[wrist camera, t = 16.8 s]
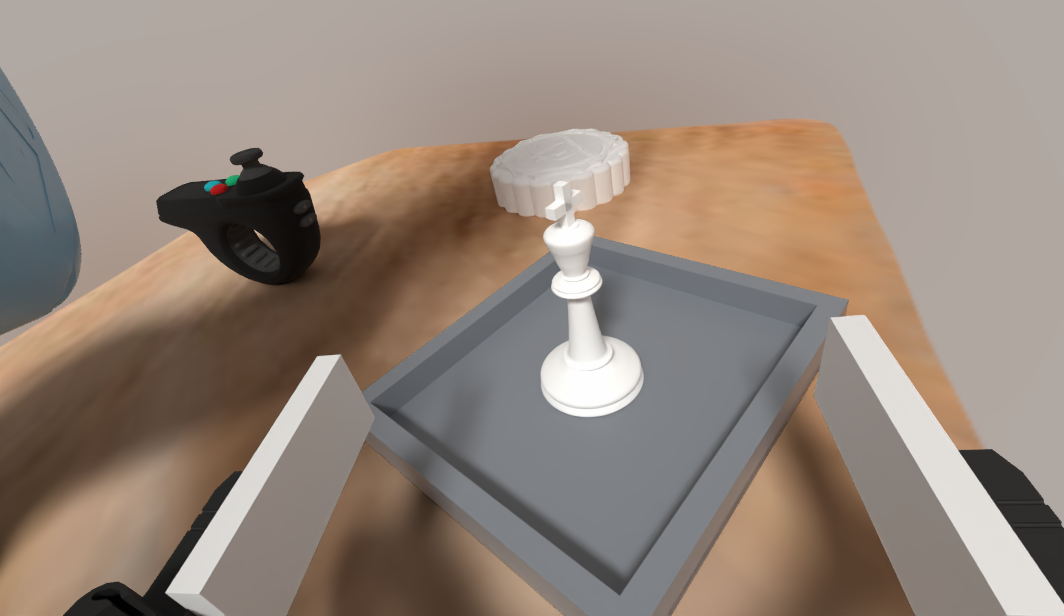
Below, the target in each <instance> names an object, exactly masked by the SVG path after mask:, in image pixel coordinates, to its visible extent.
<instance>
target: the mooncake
mask: <svg viewBox="0 0 1064 616" xmlns="http://www.w3.org/2000/svg"><path fill="white" fill-rule="evenodd" d="M490 173H491V177H492V181H493V186H494V190H495V194H496V197H497V201H498V205H499V206H500V207H505V209H506V211H507V212H509V213H518V214H519V215H520V216H523V217H530V216H534V215H536V216H537V217H540V218H546V211H545V208H546V207H548V206H549V205H550V204H552V203H553V202H555V196H554V190H553V185H554V184H555V183H557V182H558V181H566V182H569V184H570V190H572V189H574V190H580V191H581V192H582V200H583V201H582V202H581V203H580V204H578V205H577V206H576V207H574V208H573V211H574V213H575V212H576V211H587V210H590V209H593V208H594V207H596V206H597V204H604V203H607V202H609V201H611V200H612V199H613V196H616V195H619V194H621V193H623V192H624V190H625V186H627V185H628V184H629V183H630V181H631V179H630V159H629V146H628V143H627V142H626V141H624V140H623V139H622V137H621V136H619V135H612V134H611V133H610V132H607V131H602V132H599V131H598V130H596V129H594V128H592V129H577V128H574V129H570V130H566V131H562V132H557V133H550V134H542V135H536V136H534V137H533V138H531V139H527V140H523V141H520V142H519V143H518V144H517V145H515V146H514V147H513V148H510V149H507V150H506V151H504V152H503V154H502V155H500V156H498V157H497V158H496V159H495V160H494V164H493V165H492V166H491V167H490Z"/></svg>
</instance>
